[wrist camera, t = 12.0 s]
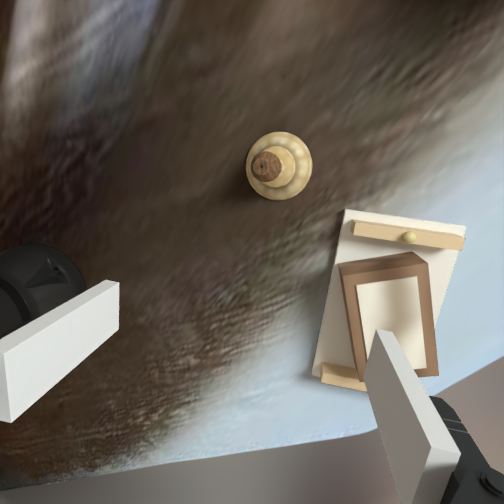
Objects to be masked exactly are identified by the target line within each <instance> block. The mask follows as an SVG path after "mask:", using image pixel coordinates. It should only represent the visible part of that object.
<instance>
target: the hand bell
mask: <svg viewBox="0 0 504 504" xmlns="http://www.w3.org/2000/svg"><path fill="white" fill-rule="evenodd" d="M311 172H312V159H311V155H310V152H309V150H308V148H307V146H306V145H305V144H304V143H303V141H302V140H301V139H299V138H298V137H296V136H295V135H292V134H290V133H287V132H273V133H269V134H267V135H265V136H263V137H261V138H260V139H259V140H257V141H256V142H255V144H254V145H253V146H252V148H251V149H250V151H249V153H248V156H247V160H246V174H247V177H248V180H249V182H250V184H251V186H252V187H253V189H254V190H255V191H256V192H257V193H259V194H260V195H261V196H263V197H265V198H267V199H271V200H286V199H289V198H292V197H294V196H295V195H297V194H298V193H300V192H301V191H302V190H303V189H304V187H305V186H306V184H307V183H308V181H309V179H310V176H311Z"/></svg>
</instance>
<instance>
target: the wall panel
mask: <svg viewBox="0 0 504 504" xmlns="http://www.w3.org/2000/svg"><path fill="white" fill-rule="evenodd" d="M465 230H466V226H463V225H456V224H449V223H442V222H435V221H428V220H421V219H414V218H406V217H399V216H392V215H385V214H378V213H371V212H364V211H356V210H349V209H345V210H344V215H343V220H342V225H341V230H340V235H339V239H338V244H337V249H336V254H335V259H334V264H333V269H332V274H331V279H330V283H329V288H328V293H327V298H326V303H325V308H324V313H323V318H322V323H321V327H320V332H319V337H318V342H317V347H316V352H315V357H314V362H313V367H312V376H317V377H321V382H322V383H327V384H332V385H336V386H341V387H346V388H351V389H356V390H361V391H366V392H367V389H366V385H365V382H359V378H358V374H357V371H356V367H355V363H354V360H353V354H352V348H351V342H350V336H349V330H348V324H347V318H346V311H345V305H344V299H343V293H342V287H341V281H340V275H339V268H338V263H343V262H349V261H355V260H362V259H368V258H374V257H380V256H386V255H393V254H399V253H405V252H411V251H413V252H414V253H415V254H417V255H418V256H419V257H421V258H422V259H423V260H425V261H426V262H428V267H429V277H430V288H431V298H432V309H433V319H434V328H435V325H436V322H437V319H438V315H439V312H440V309H441V306H442V303H443V300H444V296H445V293H446V290H447V287H448V284H449V281H450V277H451V274H452V271H453V268H454V265H455V262H456V258H457V255H458V252H459V251H462V248H463V245H464V242H465V239H466V238H464V237H463V236H464V233H465ZM418 378H419V377H418Z"/></svg>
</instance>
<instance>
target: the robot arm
mask: <svg viewBox="0 0 504 504" xmlns="http://www.w3.org/2000/svg"><path fill="white" fill-rule="evenodd" d="M118 329H119V282H114V281H109V280H105V281H103V282H101V283H99V284H97V285H96V286H94V287H92V288H90V289H89V290H87V291H86V286H85V283H84V280H83V278H82V276H81V274H80V272H79V271H78V269H77V268H76V266H75V265H74V264H73V263H72V262H71V261H70V260H69V259H68V258H67V257H66V256H65V255H64V254H62V253H61V252H59V251H58V250H56V249H54V248H52V247H50V246H47V245H43V244H37V243H29V244H24V245H20V246H16V247H13V248H10V249H7V250H5V251H3V252H2V253H0V420H1V421H5V422H9V423H12V422H13V421H14V420H15V419H16V418H18V417H19V416H20V415H21V414H22V413H23V412H24V411H26V410H27V409H28V408H29V407H30V406H31V405H32V404H34V403H35V402H36V401H37V400H38V399H39V398H40V397H42V396H43V395H44V394H45V393H46V392H47V391H48V390H50V389H51V388H52V387H53V386H54V385H55V384H56V383H58V382H59V381H60V380H61V379H62V378H63V377H64V376H66V375H67V374H68V373H69V372H70V371H71V370H72V369H74V368H75V367H76V366H77V365H78V364H79V363H80V362H82V361H83V360H84V359H85V358H86V357H87V356H89V355H90V354H91V353H92V352H93V351H94V350H95V349H97V348H98V347H99V346H100V345H101V344H102V343H103V342H105V341H106V340H107V339H108V338H109V337H110V336H111V335H113V334H114V333H115V332H116V331H117V330H118ZM363 379H364V382H365V385H366V389H367V392H368V396H369V399H370V402H371V406H372V409H373V412H374V416H375V419H376V422H377V426H378V429H379V432H380V436H381V438H382V442H383V446H384V449H385V452H386V456H387V459H388V462H389V466H390V469H391V472H392V476H393V479H394V482H395V486H396V489H397V493H398V496H399V499H400V502H401V504H504V475H503V474H502V473H500V472H498V471H496V470H494V469H492V468H490V466H489V464H488V463H487V461H486V460H485V458H484V457H483V455H482V453H481V452H480V450H479V449H478V447H477V446H476V444H475V442H474V441H473V439H472V438H471V436H470V434H468V433H467V430H466V428H465V427H464V425H463V424H461V420H460V419H459V417H458V416H457V414H456V412H455V411H454V409H452V408H451V407H450V406H449V405H448V404H447V403H446V402H445V401H443V399H441V398H438V397H433V396H428V394H427V392H426V390H425V389H424V387H423V385H422V383H421V382H420V380H419V378H418V376H417V375H416V373H415V371H414V369H413V367H412V366H411V364H410V362H409V360H408V359H407V357H406V355H405V353H404V352H403V350H402V348H401V346H400V344H399V343H398V341H397V339H396V337H395V336H394V334H393V332H391V331H385V330H380V329H376V330H375V334H374V338H373V342H372V346H371V349H370V353H369V357H368V361H367V365H366V369H365V373H364V376H363Z"/></svg>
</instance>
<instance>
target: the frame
mask: <svg viewBox="0 0 504 504" xmlns="http://www.w3.org/2000/svg"><path fill="white" fill-rule="evenodd" d="M338 268H339V275H340V281H341V287H342V293H343V299H344V305H345V311H346V318H347V324H348V330H349V336H350V342H351V348H352V354H353V360H354V363H355V367H356V371H357V374H358V378H359V382H364V379H363V376H364V373H365V369H366V365H367V361H368V357H369V353H370V349H371V346H372V342H373V338H374V334H375V330H376V329H380V330H385V331H391V332H393V334H394V336H395V337H396V339H397V341H398V343H399V344H400V346H401V348H402V350H403V352H404V353H405V355H406V357H407V359H408V360H409V362H410V364H411V366H412V367H413V369H414V371H415V373H416V375H417V376H418V377H428V376H439V371H438V361H437V350H436V340H435V329H434V319H433V309H432V298H431V288H430V277H429V267H428V262H426V261H425V260H423V259H422V258H421V257H419V256H418V255H417V254H415V253H414V252H413V251H411V252H405V253H399V254H393V255H386V256H380V257H374V258H368V259H362V260H355V261H349V262H343V263H338Z"/></svg>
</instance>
